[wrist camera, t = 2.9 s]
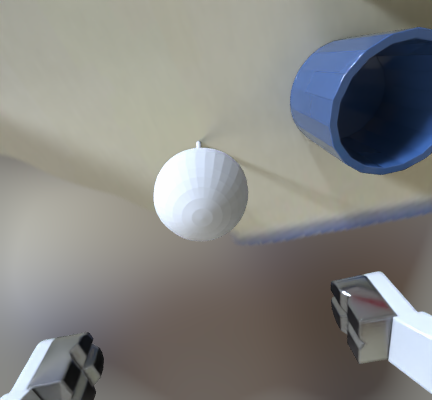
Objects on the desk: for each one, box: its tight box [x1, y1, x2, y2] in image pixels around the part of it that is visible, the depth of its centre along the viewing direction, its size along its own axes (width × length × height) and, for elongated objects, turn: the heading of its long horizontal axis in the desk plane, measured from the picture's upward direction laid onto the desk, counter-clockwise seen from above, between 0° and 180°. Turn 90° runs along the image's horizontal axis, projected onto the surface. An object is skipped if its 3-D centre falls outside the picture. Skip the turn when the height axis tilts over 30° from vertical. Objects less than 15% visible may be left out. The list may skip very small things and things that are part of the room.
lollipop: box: [154, 141, 248, 241], centre depth 22 cm, size 6×6×15 cm
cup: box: [290, 27, 432, 175], centre depth 23 cm, size 10×10×9 cm
